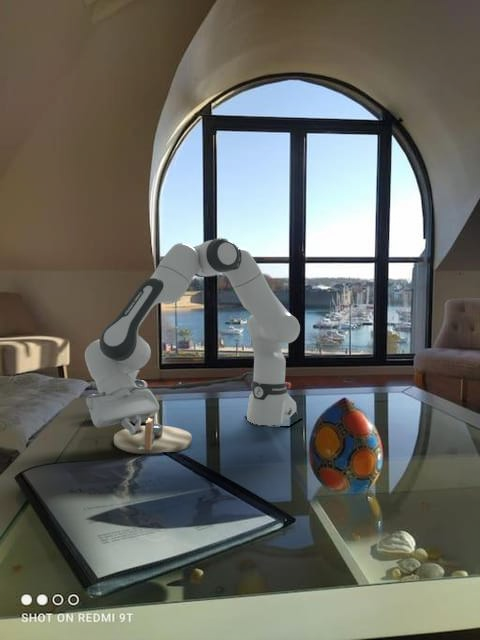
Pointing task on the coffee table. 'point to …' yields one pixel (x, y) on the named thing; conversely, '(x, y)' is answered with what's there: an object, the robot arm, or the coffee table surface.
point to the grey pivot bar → (152, 432)
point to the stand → (167, 442)
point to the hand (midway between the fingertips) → (137, 433)
